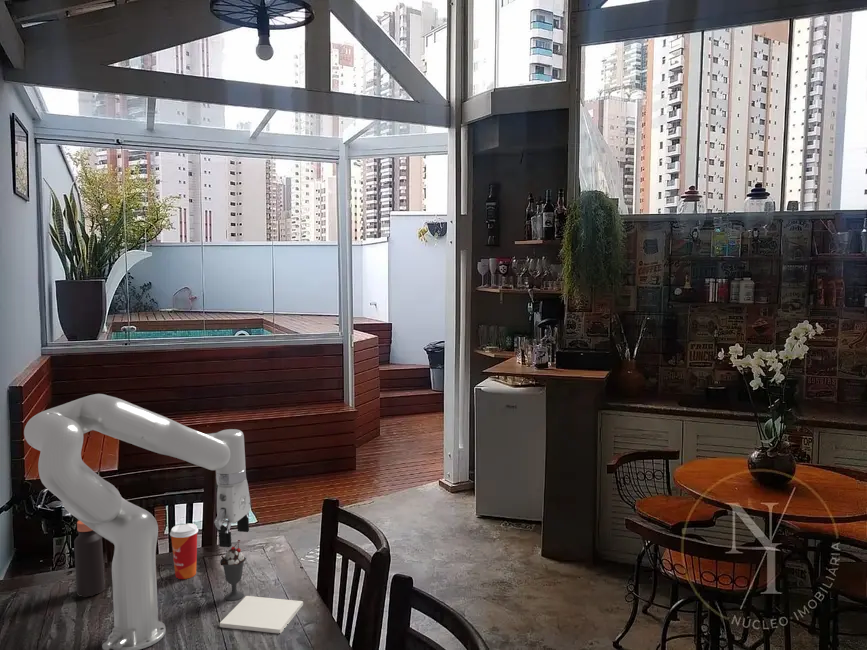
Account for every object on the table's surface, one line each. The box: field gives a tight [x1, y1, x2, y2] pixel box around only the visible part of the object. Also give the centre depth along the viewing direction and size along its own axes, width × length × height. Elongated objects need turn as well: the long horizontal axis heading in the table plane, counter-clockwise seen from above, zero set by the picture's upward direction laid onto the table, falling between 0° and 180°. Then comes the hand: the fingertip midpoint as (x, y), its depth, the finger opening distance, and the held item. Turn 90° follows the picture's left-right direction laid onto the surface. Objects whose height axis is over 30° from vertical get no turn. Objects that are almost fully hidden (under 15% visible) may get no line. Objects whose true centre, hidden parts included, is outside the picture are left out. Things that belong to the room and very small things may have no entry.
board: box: [219, 595, 304, 634], centre depth 168 cm, size 14×16×1 cm
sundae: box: [219, 539, 247, 602], centre depth 178 cm, size 7×7×15 cm
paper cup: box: [169, 523, 199, 580], centre depth 191 cm, size 8×8×14 cm
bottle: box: [73, 520, 105, 597], centre depth 181 cm, size 7×7×20 cm
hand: (234, 538), depth 178 cm, fingers open, 9 cm apart
